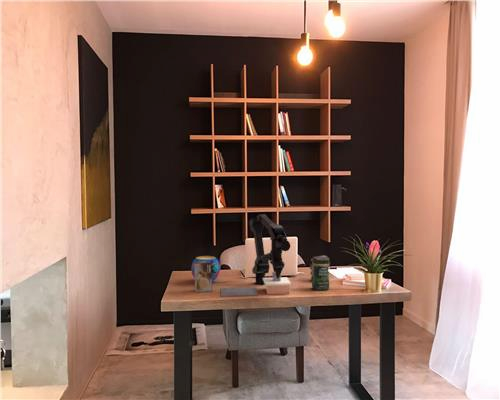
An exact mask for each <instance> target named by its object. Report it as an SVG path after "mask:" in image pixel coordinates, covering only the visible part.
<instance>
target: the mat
mask: <svg viewBox="0 0 500 400" xmlns="http://www.w3.org/2000/svg"><path fill="white" fill-rule="evenodd" d="M255 296H256V297H257V296H258V297H259V293H258V290H257V287H256V286H249V287H248V286H246V287H245V286H243V287H242V286H240V287H239V286H238V287H220V297H255Z"/></svg>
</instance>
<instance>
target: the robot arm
mask: <svg viewBox="0 0 500 400" xmlns="http://www.w3.org/2000/svg"><path fill="white" fill-rule="evenodd" d="M248 225H249V228H250V231H251V232H252V233H253V238H254V247H255V254H256V255H255V256H256V257H255V260H254V265H253V268H252V270H251V272H252V274H254V275H255V282H253V283H252V284H253V285H260V286H265V284H264V281H263V278H266V274H269V272H270V264H271V265H272V269H273V272H276V277H277V278H279V276H280V274H281V275H282V272H283V269H284V268H285V262H284V260H283V257H282V253H283V251H284V252H288V251H289V250H290V248H291V242H289V240H288V237H287V234H286V231H285V229H284V226H282V225H280V224H277V223H274V222H273V221H272V220H271V219H270V218H269V217H268V216H267V214H263V213H262V214H258V215H257V216H254V217H252V218H250V220H249V221H248ZM264 227H265V228H266V229H267V230H268V234H269V236H270V238H269V240H270V241H271V242H270V243H271V244H270V245H271V250H270V252H267V253H265V247H264V240H263V234H262V233H263V230H264Z"/></svg>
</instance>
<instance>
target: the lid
mask: <svg viewBox="0 0 500 400" xmlns="http://www.w3.org/2000/svg"><path fill="white" fill-rule="evenodd" d="M271 274H272V275H271V276H272V277H265V278H263V281H264V287H265V286H270V285H289V286H292V283H291V281H290V280H289V278H288V277H287V276H286V277H282V276H281V275H282V273H281V274H280V276H279V278H277V277H276V272H274V271H272V273H271Z"/></svg>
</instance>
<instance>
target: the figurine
mask: <svg viewBox="0 0 500 400" xmlns="http://www.w3.org/2000/svg"><path fill="white" fill-rule="evenodd" d="M325 256H326V257H328V256H327V255H325ZM310 261H311V262H313V257H312V258H311V259H310ZM309 270H311V271H310V276H311V277H310V279H311V280H313V270H314V268H313V264H312V263H311V264H310V267H309ZM328 274H330V271H328Z"/></svg>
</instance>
